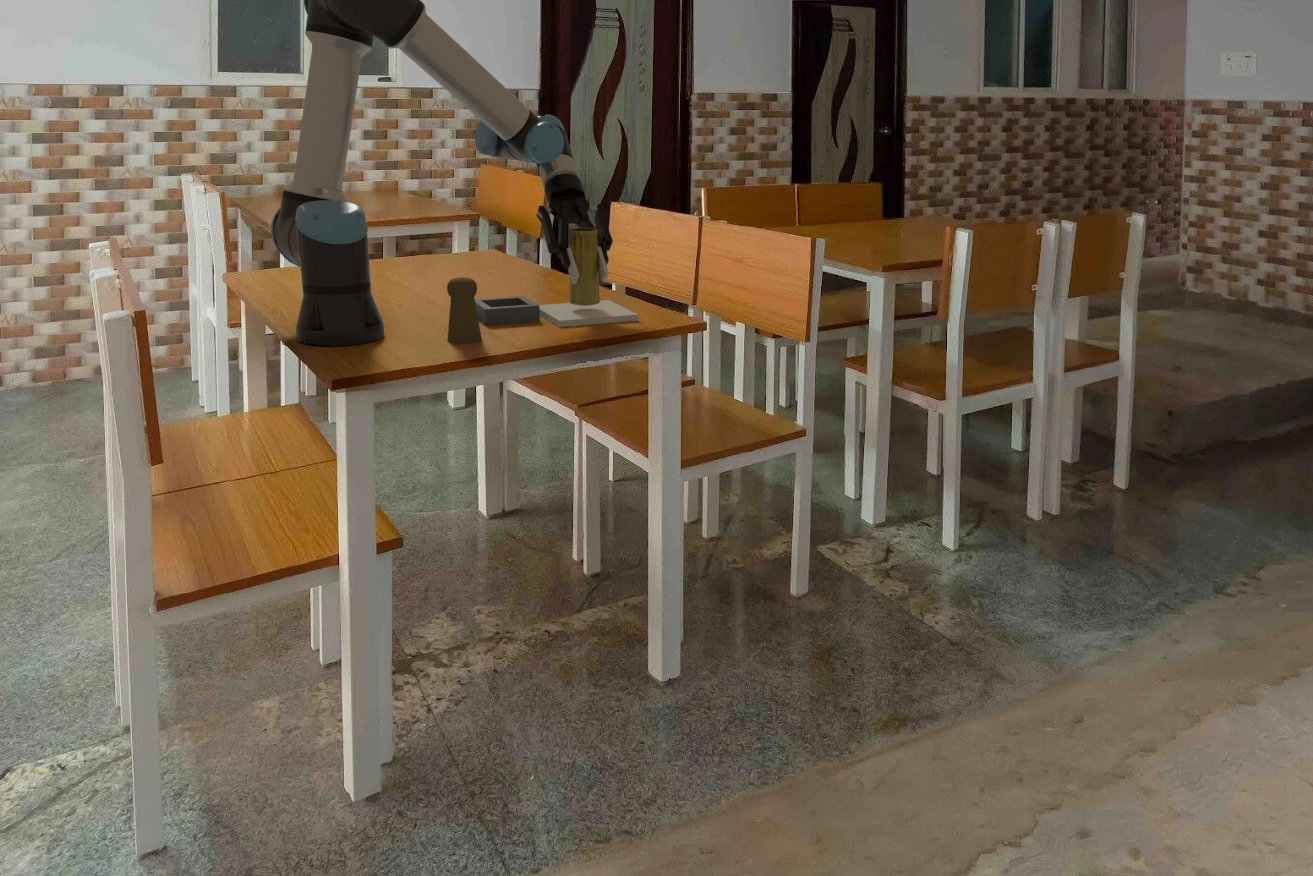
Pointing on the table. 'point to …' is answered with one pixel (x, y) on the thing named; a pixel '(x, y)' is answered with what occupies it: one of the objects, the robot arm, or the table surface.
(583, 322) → the board
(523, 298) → the collar
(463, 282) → the olive brown pawn
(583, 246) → the vase
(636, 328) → the table surface
